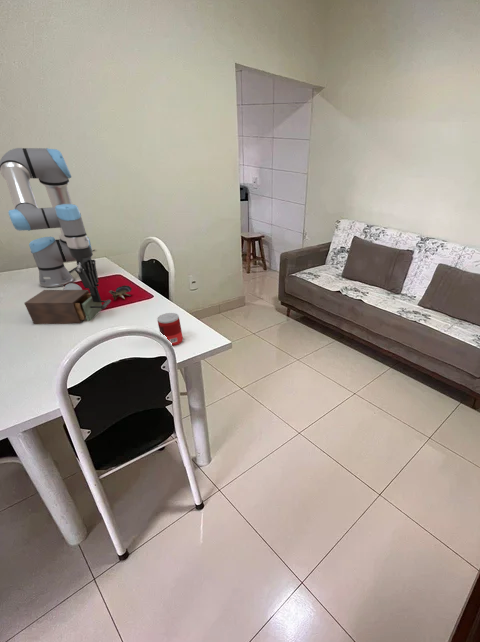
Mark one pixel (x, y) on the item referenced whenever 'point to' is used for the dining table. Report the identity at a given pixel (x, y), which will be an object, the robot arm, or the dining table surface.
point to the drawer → (89, 307)
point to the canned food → (170, 327)
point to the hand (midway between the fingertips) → (97, 301)
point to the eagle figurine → (120, 292)
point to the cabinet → (55, 307)
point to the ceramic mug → (72, 287)
